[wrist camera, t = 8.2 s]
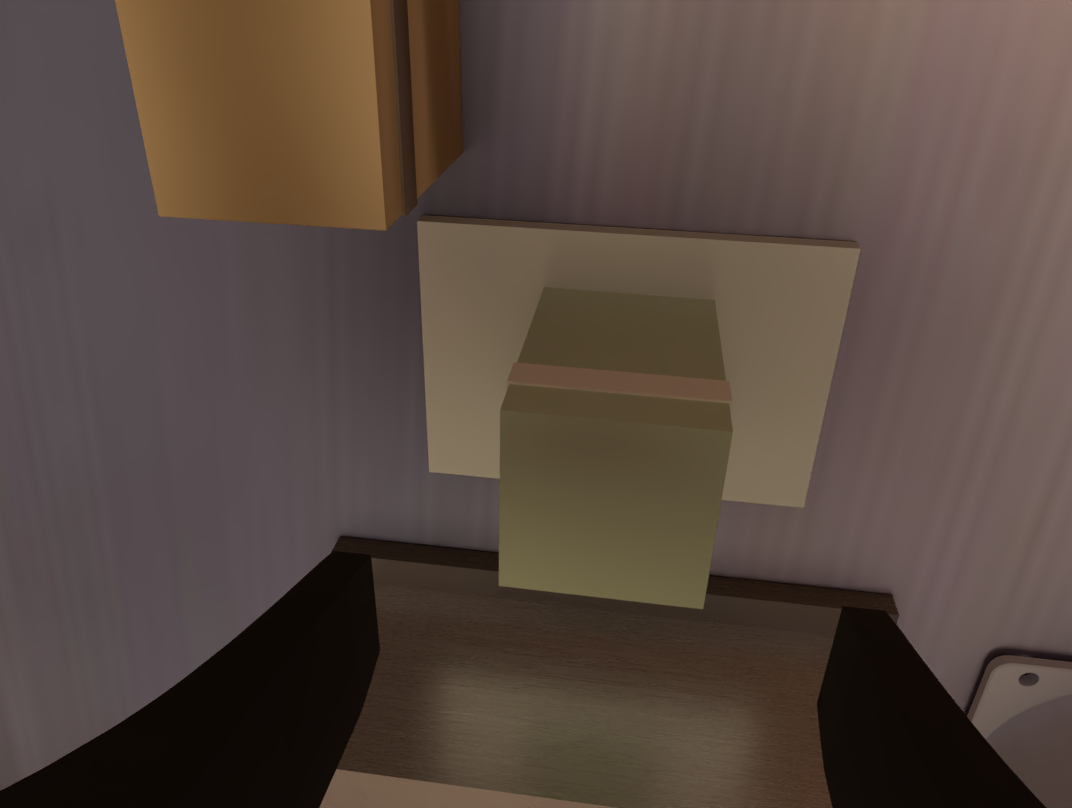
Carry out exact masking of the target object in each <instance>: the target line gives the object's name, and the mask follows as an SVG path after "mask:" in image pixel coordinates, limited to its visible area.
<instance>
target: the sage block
mask: <svg viewBox="0 0 1072 808" xmlns="http://www.w3.org/2000/svg"><path fill="white" fill-rule="evenodd" d="M731 406H732V396H731V389H730V382H729V381H726V377H725V370H724V363H723V356H722V348H721V341H720V334H719V327H718V320H717V312H716V305H715V300H705V299H692V298H679V297H666V296H653V295H640V294H627V293H614V292H600V291H587V290H574V289H561V288H548V287H544V288H543V291H542V294H541V297H540V300H539V302H538V305H537V308H536V311H535V314H534V316H533V319H532V322H531V325H530V328H529V330H528V333H527V336H526V339H525V342H524V344H523V347H522V350H521V353H520V356H519V358H518V361H517V363H516V362H514V363H513V366H512V368H511V371H510V374H509V377H508V379H507V392H506V395H505V398H504V401H503V403H502V406H501V409H500V484H499V586H504V587H513V588H522V589H530V590H539V591H548V592H556V593H565V594H574V595H582V596H591V597H600V598H608V599H617V600H626V601H635V602H643V603H652V604H661V605H669V606H678V607H687V608H695V609H703V608H704V602H705V596H706V590H707V584H708V578H709V572H710V566H711V560H712V554H713V548H714V542H715V536H716V530H717V524H718V518H719V512H720V506H721V500H722V494H723V488H724V482H725V476H726V470H727V464H728V459H729V453H730V447H731V441H732V435H733V428H732V421H731V414H730V412H731Z"/></svg>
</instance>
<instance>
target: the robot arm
mask: <svg viewBox="0 0 1072 808" xmlns="http://www.w3.org/2000/svg"><path fill="white" fill-rule="evenodd" d="M379 652H380V643H379V633H378V622H377V612H376V601H375V591H374V580H373V570H372V559H371V555H369V554H359V553H350V552H341V551H333V552H332V553H331V554H329V555H328V556H327V557H326V558H325V559H324V560H322V561H321V562H320V563H319V564H318V565H317V566H316V567H315V568H313V569H312V570H311V571H310V572H309V573H308V574H307V575H306V576H305V577H304V578H303V579H301V580H300V581H299V582H298V583H297V584H296V585H295V586H294V587H293V588H292V589H290V590H289V591H288V592H287V593H286V594H285V595H284V596H283V597H282V598H280V599H279V600H278V601H277V602H276V603H275V604H274V605H273V606H272V607H270V608H269V609H268V610H267V611H266V612H265V613H264V614H262V615H261V616H260V617H259V618H258V619H257V620H255V621H254V622H253V623H252V624H251V625H250V626H248V627H247V628H246V629H245V630H244V631H243V632H241V633H240V634H239V635H238V636H237V637H236V638H234V639H233V640H232V641H231V642H230V643H228V644H227V645H226V646H225V647H224V648H222V649H221V650H220V651H218V652H217V653H216V654H215V655H213V656H212V657H211V658H210V659H208V660H207V661H206V662H204V663H203V664H202V665H201V666H199V667H198V668H197V669H196V670H194V671H193V672H192V673H190V674H189V675H188V676H187V677H185V678H184V679H183V680H181V681H180V682H179V683H177V684H176V685H175V686H173V687H172V688H170V689H169V690H168V691H166V692H165V693H164V694H162V695H161V696H159V697H158V698H157V699H155V700H154V701H152V702H151V703H149V704H148V705H146V706H145V707H143V708H142V709H140V710H139V711H137V712H136V713H134V714H133V715H131V716H130V717H128V718H127V719H125V720H124V721H122V722H121V723H119V724H118V725H116V726H114V727H113V728H111V729H110V730H108V731H106V732H105V733H103V734H101V735H99V736H98V737H96V738H94V739H93V740H91V741H89V742H88V743H86V744H84V745H82V746H81V747H79V748H77V749H76V750H74V751H72V752H71V753H69V754H67V755H65V756H64V757H62V758H60V759H59V760H57V761H55V762H53V763H52V764H50V765H48V766H47V767H45V768H43V769H41V770H39V771H37V772H36V773H34V774H32V775H30V776H28V777H26V778H24V779H22V780H20V781H18V782H17V783H15V784H13V785H11V786H9V787H7V788H5V789H3V790H1V791H0V808H319V807H320V805H321V803H322V801H323V798H324V796H325V794H326V792H327V789H328V787H329V785H330V783H331V780H332V778H333V776H334V774H335V771H336V769H337V767H338V765H339V762H340V760H341V758H342V755H343V753H344V751H345V749H346V746H347V744H348V742H349V739H350V737H351V735H352V733H353V730H354V728H355V726H356V723H357V721H358V719H359V716H360V714H361V712H362V709H363V706H364V702H365V699H366V696H367V693H368V690H369V687H370V683H371V680H372V676H373V673H374V670H375V666H376V663H377V659H378V656H379ZM1025 673H1030V674H1028V675H1023V674H1025ZM1021 675H1022V676H1021ZM817 711H818V721H819V731H820V741H821V750H822V758H823V766H824V773H825V777H826V782H827V786H828V791H829V795H830V799H831V804H832V808H1072V662H1067V661H1058V660H1049V659H1040V658H1031V657H1022V656H1013V655H1003V656H999V657H996V658H995V659H993V660H992V661H990V663H989V664H988V665H987V668H986V670H985V673H984V675H983V678H982V680H981V683H980V685H979V688H978V690H977V693H976V695H975V698H974V700H973V703H972V705H971V708H970V710H969V713H968V715H967V716H966V715H965V714H964V712H963V711H962V710H961V709H960V707H959V706H958V705H957V704H956V703H955V701H954V700H953V699H952V697H951V696H950V695H949V694H948V692H947V691H946V690H945V688H944V687H943V686H942V685H941V683H940V682H939V681H938V679H937V678H936V677H935V675H934V674H933V673H932V671H931V670H930V669H929V668H928V666H927V665H926V664H925V662H924V661H923V660H922V658H921V657H920V656H919V654H918V653H917V652H916V650H915V649H914V648H913V646H912V645H911V644H910V642H909V641H908V640H907V638H906V637H905V635H904V634H903V633H902V631H901V630H900V629H899V627H898V626H897V625H896V623H895V622H894V621H893V619H892V618H891V617H890V616H889V614H888V613H887V612H886V611H884V610H874V609H865V608H856V607H847V606H842V610H841V614H840V618H839V621H838V625H837V629H836V633H835V636H834V640H833V644H832V648H831V651H830V655H829V659H828V663H827V666H826V670H825V674H824V678H823V681H822V685H821V689H820V693H819V697H818V700H817Z"/></svg>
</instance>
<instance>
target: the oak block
mask: <svg viewBox="0 0 1072 808" xmlns="http://www.w3.org/2000/svg"><path fill="white" fill-rule="evenodd" d="M115 2H116V7H117V12H118V17H119V22H120V27H121V32H122V37H123V42H124V47H125V52H126V56H127V61H128V66H129V71H130V76H131V81H132V86H133V91H134V96H135V101H136V106H137V110H138V115H139V120H140V125H141V130H142V135H143V140H144V145H145V150H146V155H147V160H148V164H149V169H150V174H151V179H152V184H153V189H154V194H155V199H156V204H157V209H158V214H159V216H164V217H180V218H196V219H211V220H227V221H243V222H259V223H275V224H290V225H306V226H322V227H338V228H354V229H369V230H385V231H386V230H387V229H388V228H389V227H390V226H391V225H392V224H393V223H394V222H395V221H396V220H397V219H398V218H399V217H400V216H404V217H406V216H407V215H408V214H409V212H410V211H411V210H412V209H413V208H414V207H415V206H416V205H417V198H418V197H419V196H420V195H421V194H422V193H423V192H424V191H425V190H426V189H427V188H428V187H429V186H430V185H431V184H432V183H433V182H434V181H435V180H436V179H437V178H438V177H439V176H440V175H441V174H442V173H443V172H444V171H445V170H446V169H447V168H448V167H449V166H450V165H451V164H452V163H453V162H454V161H455V160H456V159H457V158H458V157H459V156H460V155H461V154H462V153H463V138H462V92H461V46H460V0H115Z"/></svg>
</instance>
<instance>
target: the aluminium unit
mask: <svg viewBox="0 0 1072 808" xmlns="http://www.w3.org/2000/svg"><path fill="white" fill-rule="evenodd" d="M333 551H341V552H350V553H359V554H369V555H371V559H372V570H373V580H374V591H375V601H376V612H377V622H378V633H379V643H380V652H379V656H378V659H377V663H376V666H375V670H374V673H373V676H372V680H371V683H370V687H369V690H368V693H367V696H366V699H365V702H364V706H363V709H362V712H361V714H360V716H359V719H358V721H357V723H356V726H355V728H354V730H353V733H352V735H351V737H350V739H349V742H348V744H347V746H346V749H345V751H344V753H343V755H342V758H341V760H340V762H339V765H338V767H337V769H336V771H335V774H334V776H333V778H332V780H331V783H330V785H329V787H328V789H327V792H326V794H325V796H324V798H323V801H322V803H321V805H320V807H319V808H832V804H831V799H830V795H829V791H828V786H827V782H826V777H825V773H824V766H823V758H822V750H821V741H820V731H819V721H818V711H817V700H818V697H819V693H820V689H821V685H822V681H823V678H824V674H825V670H826V666H827V663H828V659H829V655H830V651H831V648H832V644H833V640H834V636H835V633H836V629H837V625H838V621H839V618H840V614H841V610H842V606H847V607H856V608H865V609H874V610H884V611H886V612H887V613H888V614H889V616H890V617H891V618H892V619H893V621H894V622H895V623H897V620H898V617H899V614H898V611H897V608H896V605H895V602H894V599H893V596H892V595H888V594H878V593H869V592H859V591H850V590H840V589H831V588H821V587H812V586H803V585H793V584H784V583H774V582H765V581H755V580H746V579H736V578H727V577H717V576H709V578H708V584H707V590H706V596H705V602H704V608H703V609H695V608H687V607H678V606H669V605H661V604H652V603H643V602H635V601H626V600H617V599H608V598H600V597H591V596H582V595H574V594H565V593H556V592H548V591H539V590H530V589H522V588H513V587H504V586H499V553H490V552H481V551H472V550H462V549H453V548H443V547H434V546H424V545H415V544H405V543H396V542H386V541H377V540H368V539H358V538H349V537H339V539H338V541H337V543H336V545H335V546H334V548H333V550H332V552H333ZM332 552H331V553H332Z"/></svg>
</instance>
